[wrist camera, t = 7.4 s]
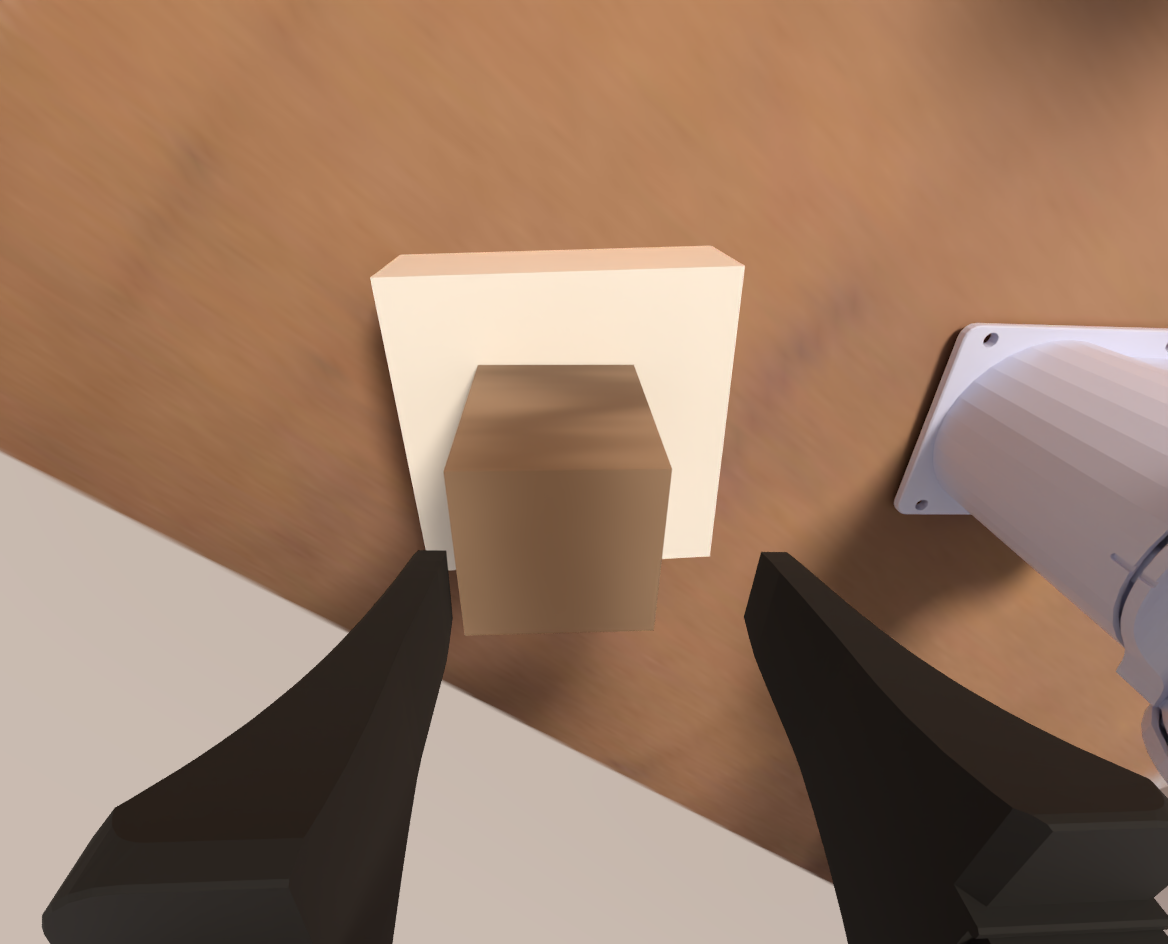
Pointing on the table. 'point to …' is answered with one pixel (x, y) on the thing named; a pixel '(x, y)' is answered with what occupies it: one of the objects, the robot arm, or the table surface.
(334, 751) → the robot arm
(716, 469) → the ceramic base
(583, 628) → the walnut block
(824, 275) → the table surface
